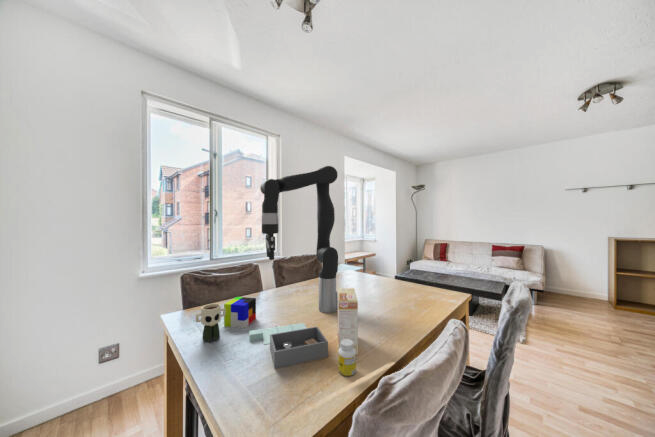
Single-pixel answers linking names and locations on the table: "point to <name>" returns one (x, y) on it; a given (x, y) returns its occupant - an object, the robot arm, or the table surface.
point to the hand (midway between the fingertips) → (270, 258)
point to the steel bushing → (287, 345)
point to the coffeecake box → (347, 316)
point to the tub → (297, 347)
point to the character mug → (210, 320)
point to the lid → (273, 332)
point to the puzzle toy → (240, 312)
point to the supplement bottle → (347, 358)
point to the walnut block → (310, 342)
